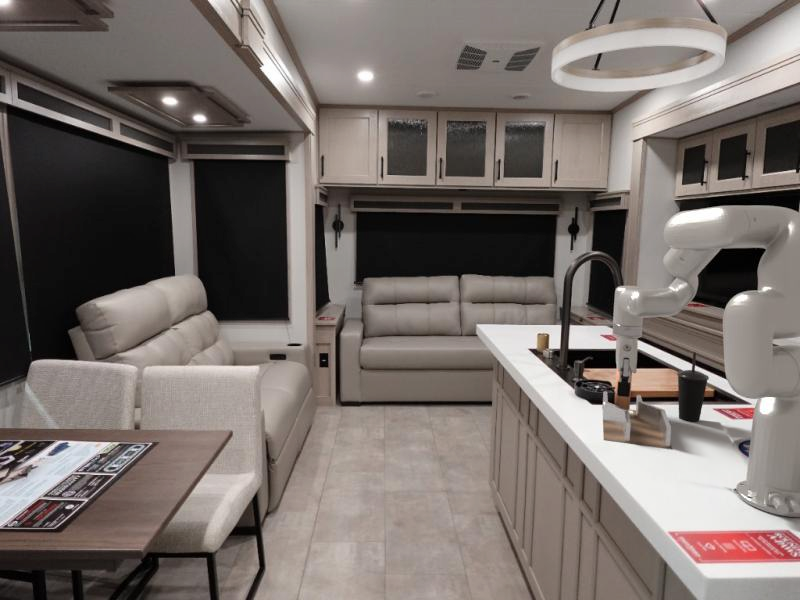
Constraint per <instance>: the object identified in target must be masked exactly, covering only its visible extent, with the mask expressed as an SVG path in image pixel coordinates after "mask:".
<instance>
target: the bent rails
mask: <svg viewBox="0 0 800 600" xmlns="http://www.w3.org/2000/svg"><path fill="white" fill-rule="evenodd" d="M602 395H603V397H602V406H603V409H602V421H603V420H606V421H608V422H610V423H612V424H615V425H617V426H619V427H621V428H623V430H624V437H625V441H626V442H629V441H630V427H631V421H630V416H629V410H630V409H629V410H626V409H624V408H621V407H619V406H616V405H614V403H611V402H609V401H608V400H609V399H608V398H609V397H608V391H606V390H605V391H603V394H602ZM635 404H636V405H635V410H636V415H637V419H639V420H641V421H643V422H646V423H648V424H651V425H653V426H656V427H658V428H659V429H660V432H661V435H662V438H663V442H664V445H665V447H669V448H670V443H671V439H672V438H671V436H672V426H671V423H670V420H669V417H668V414H667V412H666V410H665V409H663V408H660V407H657V406H655V405H653V404H650V403H647V402H645V401H643V399H642V395H641V394H636V402H635Z"/></svg>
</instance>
